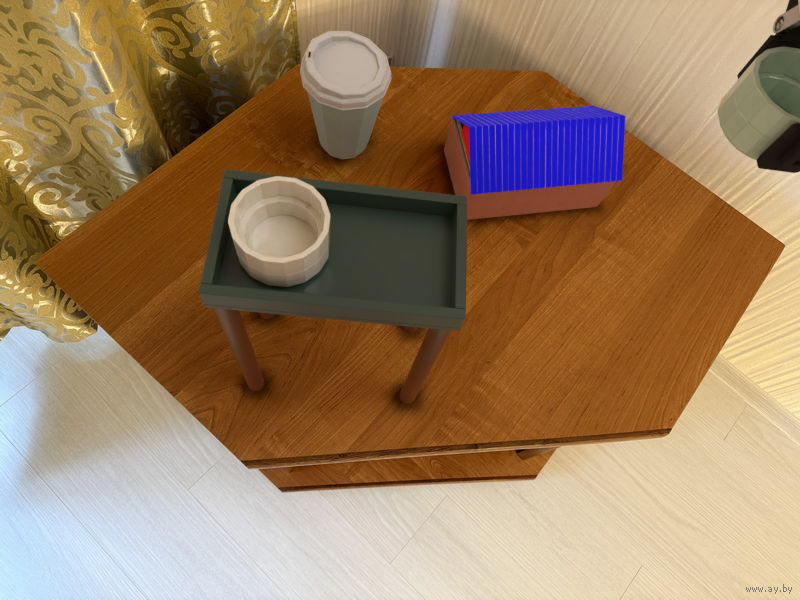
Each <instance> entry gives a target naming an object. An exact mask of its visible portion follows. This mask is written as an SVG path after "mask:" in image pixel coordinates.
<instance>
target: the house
mask: <svg viewBox="0 0 800 600" xmlns="http://www.w3.org/2000/svg"><path fill="white" fill-rule="evenodd" d="M451 118H452V120H451V124H450V127H449V130H448V135H447V137H446V141H445V145H444V148H443V152H444V156H445V160H446V164H447V168H448V172H449V176H450V180H451V184H452V187H453V188H452V189H453V192H454V195H458V196H466V197H467V221H470V220H480V219H489V218H499V217H509V216H519V215H520V216H521V215H528V214H538V213H549V212H550V213H551V212H559V211H569V210H579V209H589V208H597V207H599V205H600V204H601V202H602V201H603V200H604V199H605V198H606V196H607V195H608V194H609V192H610V191H611V190H612V189H613V188H614V186H615V184H616V183H617V182H623V172H624V152H625V132H626V131H625V129H626V115H624V114H621V113H618V112H616V111H615V112H614V111H612V110H609V109H606V108H603V107H599V106H597V105H586V106H572V107H557V108H556V107H555V108H554V107H553V108H543V109H542V108H541V109H526V110H510V111H498V112H497V111H496V112H483V113H470V114H453V115H452V114H451Z"/></svg>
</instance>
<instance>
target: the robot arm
mask: <svg viewBox="0 0 800 600" xmlns="http://www.w3.org/2000/svg"><path fill="white" fill-rule="evenodd" d="M772 32H773V33H774V34H770V35H769V36H768V37H767V39H766V40H765V41H764V42H763V43H762V44H761V46H760V47H759V48H758V49H757V51H756V52H755V53H754V54H753V56H751V58H750V59H749V60H748V61H747V62H746V64H745V65H744V67H742V69H741V70H740V71H739V72H738V74H737V75H736V76H737V80H738V79H739V78H740V77H741V75H742V74H743V73H744V72H745V71H746V69H747V68H748V67H749V66H750V65H751V64H752V62H753V61H754V60H755V59H756V58H757V57H758V56H759V55H761V54H762V53H763V52H764V51H766V50H767V49H771V48H777V47H782V46H785V47H792V48H799V49H800V0H788V3H787V5H786V9H785V12H783V13H781V14H779V16H778V17H776V19H775V21H774V23H773V26H772ZM756 165H757V168H758V169H760V170H769V171H775V172H776V171H777V172H782V173H783V172H784V173H791V174H797V173H800V123H794V124H793V125H791V126H790V127H789V128H788V129H787V130H786V131H785V132H784V133H783V134H782V135H781V136H780V137H779V138H778V139H777V140H776V141H774V142H773V143H772V144H771V145H770V146H769V147H768V148H767V149H766V150H765V151H764V152H763V153H762V154H761V155H760V156H759V157H758V159H757V160H756Z"/></svg>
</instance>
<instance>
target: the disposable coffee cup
mask: <svg viewBox="0 0 800 600" xmlns="http://www.w3.org/2000/svg"><path fill="white" fill-rule="evenodd" d="M299 74H300V79H301V83H302V88H303V89H304V90H305V91H306V92H307V96H308V100H309V105H310V109H311V112H312V115H313V116H312V117H313V120H314V125H315V129H316V133H317V136H318V137H317V138H318V140H319V144H320V147H322V148H323V150H324V151H325V152H326V153H328V155H329V156H331V157H333V158H336V159H338V160H348V159H349V160H350V159H354V158H356V157H358V156H359V155H361V154H362V153H363V152H364V151H366V148H367V146H368V144H369V141H370V138H371V135H372V132H373V130H374V127H375V123H376V121H377V119H378V114H379V112H380V109H381V106H382V103H383V100H384V97H385V96H386V93H387V91H388V89H389V86H390V85H391V82H392V71H391V67H390V64H389V59H388V56H387V54H386V53H385V52H384V51H383V50H382V49H380V47H378V45H376V44H375V43H374V41H372V40H371V39H370V38H368V37H365V36H363V35H361V34H359V33H356V32H354V31H351V30H327V31H326V32H324V33H322V34H320V35H317V36H315V37H314V38H312V39H311V40H310V42H309V44H308V46H307V48H306V49H305V52H304V55H303V56H302V58H301V63H300V69H299Z"/></svg>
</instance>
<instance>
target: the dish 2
mask: <svg viewBox="0 0 800 600" xmlns="http://www.w3.org/2000/svg"><path fill="white" fill-rule="evenodd" d="M717 116H718V122H719V126H720V129H721V130H722V133H723V135H724V136H725V138H726V139H727V140H728V142H729V143H730V144H731V145H732V147H734V148H735V149H736V150H737V151H738V152H740V153H741V154H743V155H744V156H746V157H748V158H750V159H752V160H755V161H757V159H758V157H759V156H760V155H761V154H762V153H763V152H764V151H765V150H766V149H767V148H768V147H769V146H770V145H771V144H772V143H773V142H774V141H776V140H777V139H778V138H779V137H780V136H781V135H782V134H783V133H784V132H785V131H786V130H787V129H788V128H789V127H790V126H791V125H793V124H794V123H800V49H799V48H792V47H785V46H782V47H777V48H771V49H767V50H766V51H764V52H763V53H762V54H761V55H759V56H758V57H757V58H756V59H755V60H754V61H753V62H752V64H751V65H750V66H749V67H748V68H747V69H746V71H745V72H744V73H743V74H742V75H741V77H740V78H739V79H738V78H737V80H736V81H735V83H734V84H733V85H732V86H731V87H730V88H729V90H727V92H726V93H725V94H724V96H723V97H722V98H721V99H720V102H719V106H718V109H717Z"/></svg>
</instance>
